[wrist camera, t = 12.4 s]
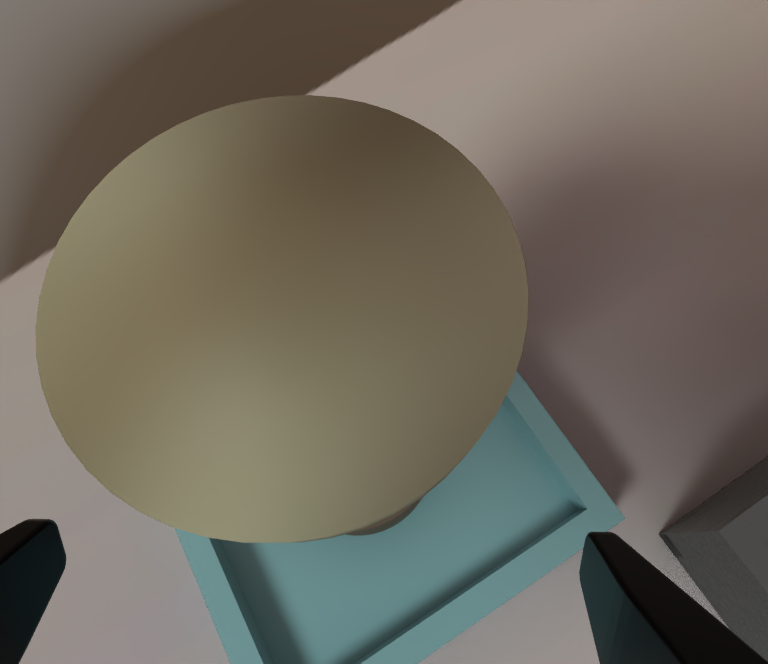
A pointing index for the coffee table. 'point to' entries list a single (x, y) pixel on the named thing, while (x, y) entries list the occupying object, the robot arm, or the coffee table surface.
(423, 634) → the tray
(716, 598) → the holder
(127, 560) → the coffee table surface
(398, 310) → the canister
